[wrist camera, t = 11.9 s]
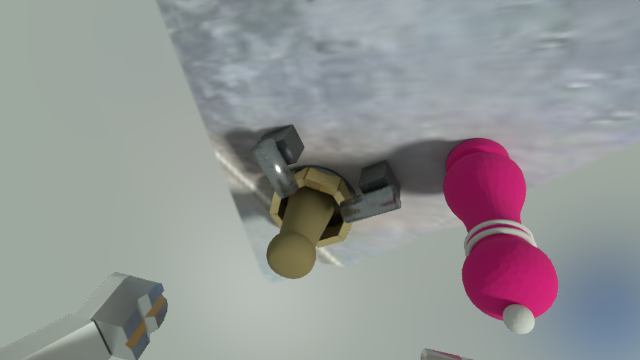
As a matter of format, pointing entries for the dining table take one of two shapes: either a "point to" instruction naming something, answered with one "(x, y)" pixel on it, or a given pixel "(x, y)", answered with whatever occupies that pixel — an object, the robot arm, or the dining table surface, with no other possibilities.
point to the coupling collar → (325, 183)
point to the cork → (300, 232)
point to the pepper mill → (497, 236)
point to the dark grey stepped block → (279, 159)
